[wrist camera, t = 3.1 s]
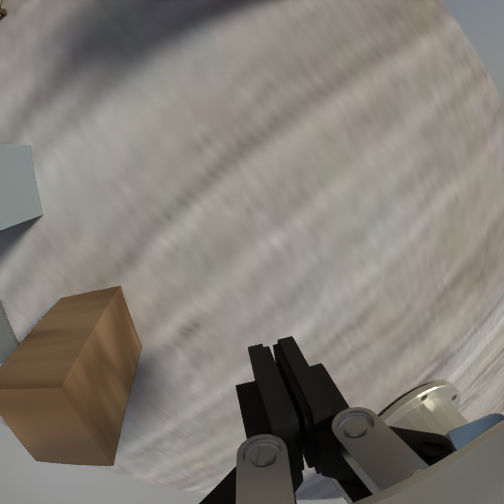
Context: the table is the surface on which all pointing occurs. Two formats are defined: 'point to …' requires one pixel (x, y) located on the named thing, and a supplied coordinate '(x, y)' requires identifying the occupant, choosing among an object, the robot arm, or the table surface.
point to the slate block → (17, 186)
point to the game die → (2, 10)
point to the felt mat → (6, 337)
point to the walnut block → (73, 380)
